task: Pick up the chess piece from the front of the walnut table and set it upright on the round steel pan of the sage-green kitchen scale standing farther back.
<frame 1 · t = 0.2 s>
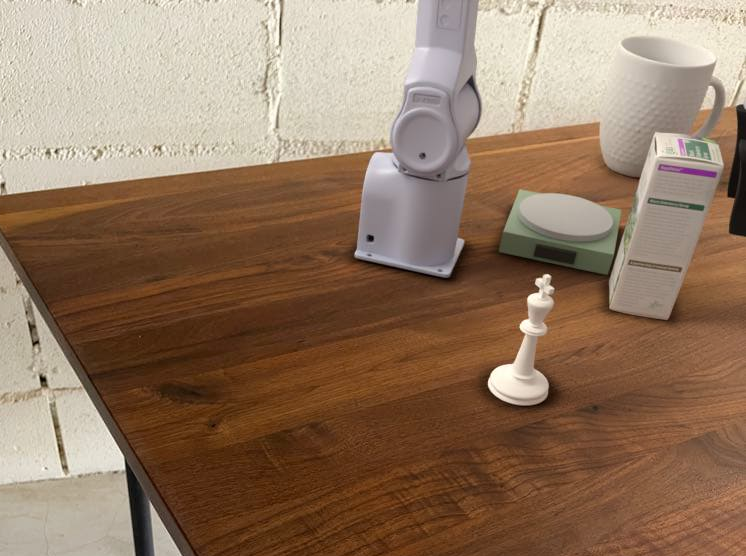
hand: (739, 215, 76), 10 cm above the table, tool pointing down, fingers open, 7 cm apart
chess piece: (517, 389, 73), on the table
syrup box: (635, 303, 84), on the table
scale: (559, 240, 92), on the table
mug: (639, 168, 108), on the table
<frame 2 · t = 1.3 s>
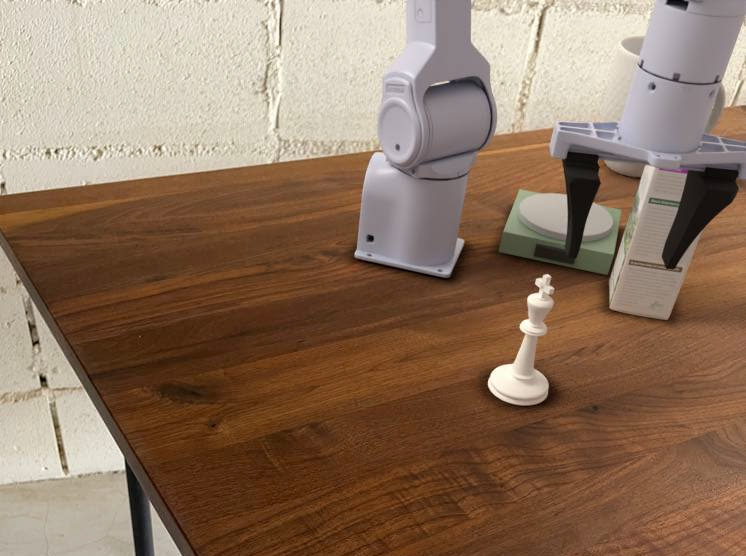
hand: (619, 257, 69), 10 cm above the table, tool pointing down, fingers open, 7 cm apart
nothing on the table moved.
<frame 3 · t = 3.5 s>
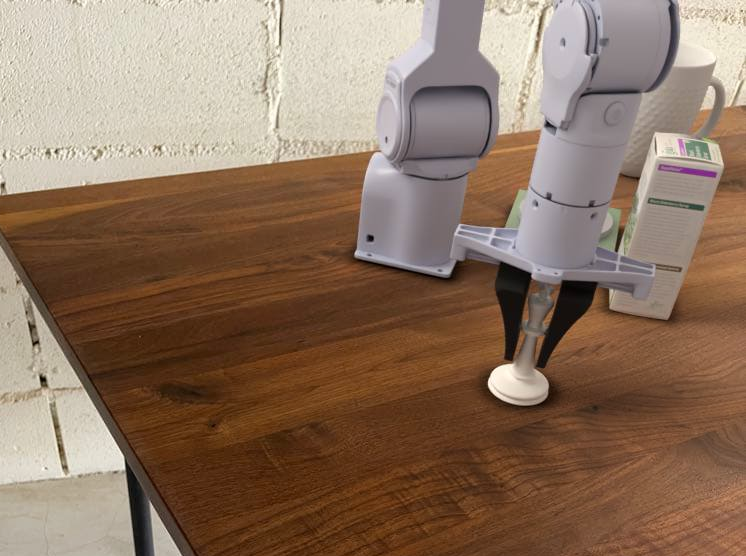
hand: (525, 357, 70), 3 cm above the table, tool pointing down, fingers closed on chess piece
chess piece: (517, 389, 73), on the table, touching gripper
everything else where it was.
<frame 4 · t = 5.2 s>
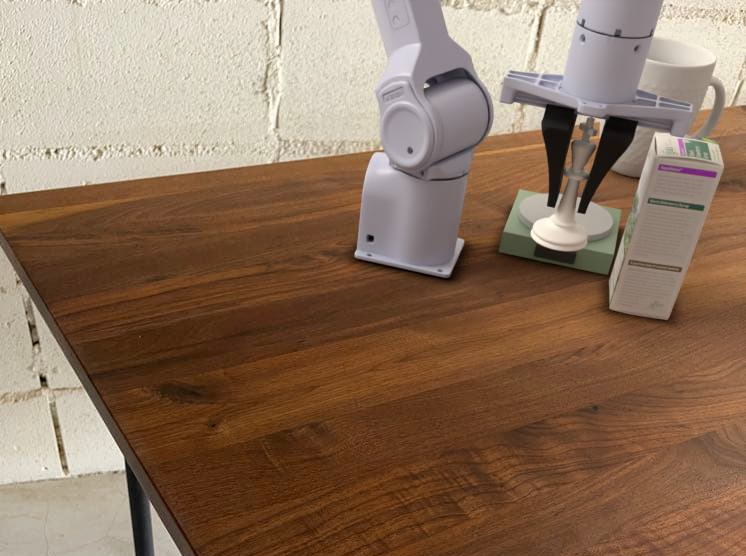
hand: (566, 205, 75), 10 cm above the table, tool pointing down, fingers closed on chess piece
chess piece: (557, 240, 77), point 7 cm above the table, touching gripper
everything else where it was.
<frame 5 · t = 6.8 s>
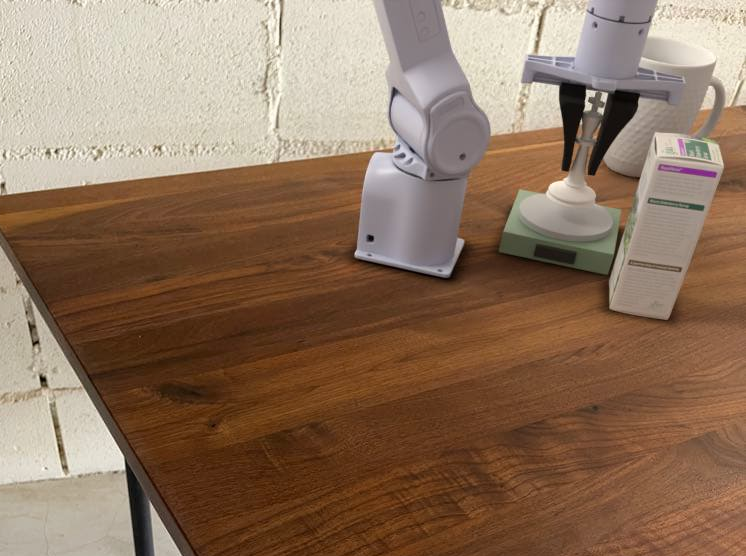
hand: (577, 169, 87), 7 cm above the table, tool pointing down, fingers closed on chess piece
chess piece: (569, 200, 89), point 4 cm above the table, touching gripper
everything else where it was.
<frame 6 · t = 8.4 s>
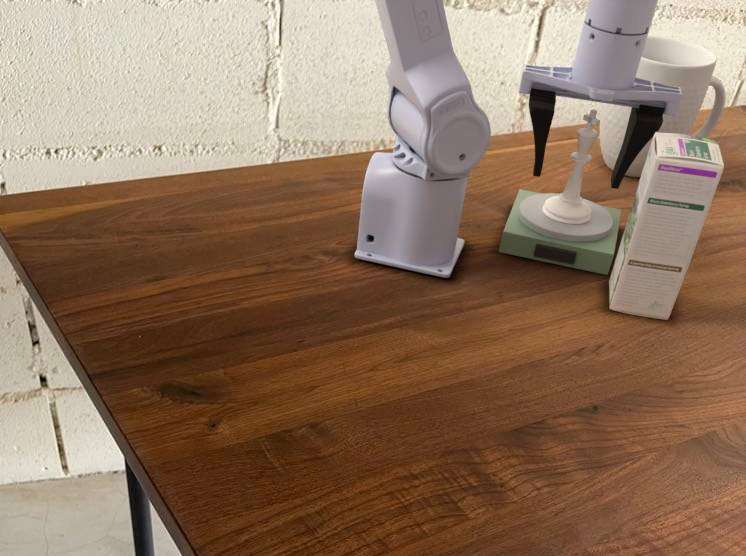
hand: (575, 178, 88), 6 cm above the table, tool pointing down, fingers open, 7 cm apart
chess piece: (565, 215, 90), point 3 cm above the table, touching scale
everything else where it was.
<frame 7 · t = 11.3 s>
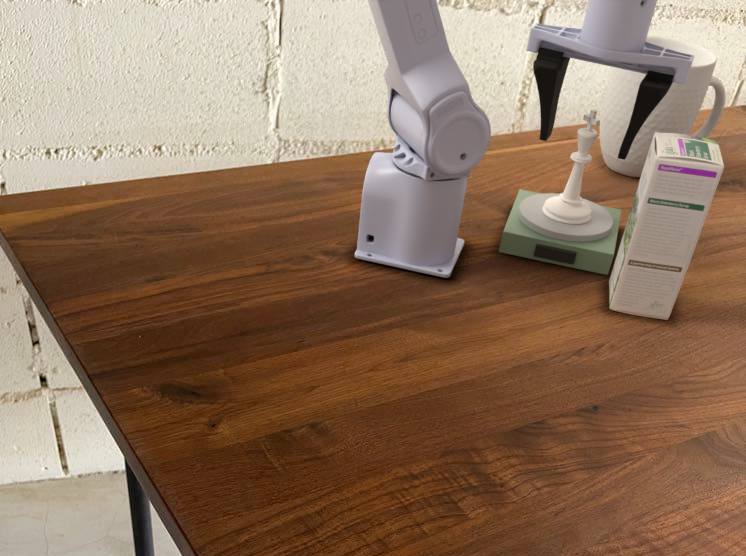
hand: (583, 146, 85), 10 cm above the table, tool pointing down, fingers open, 7 cm apart
nothing on the table moved.
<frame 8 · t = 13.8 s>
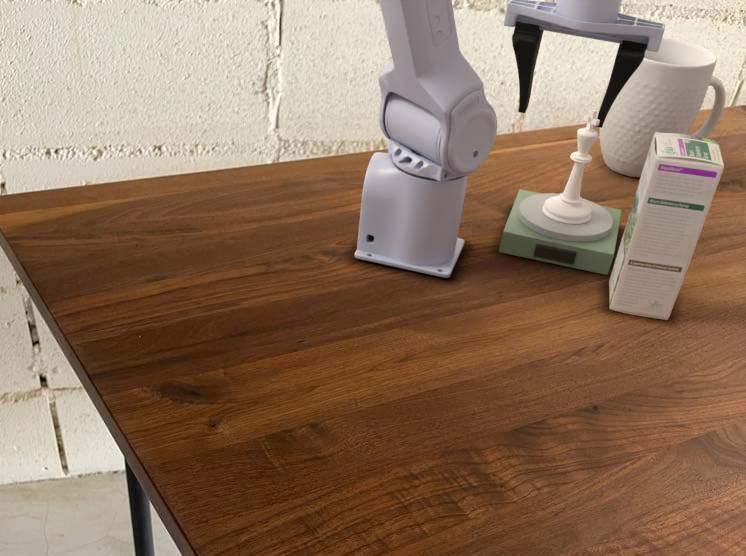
hand: (560, 116, 88), 10 cm above the table, tool pointing down, fingers open, 7 cm apart
nothing on the table moved.
at the end: chess piece 0.0 cm off-centre on the scale, point 2.7 cm above the scale's base; chess piece tilted 0° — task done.
